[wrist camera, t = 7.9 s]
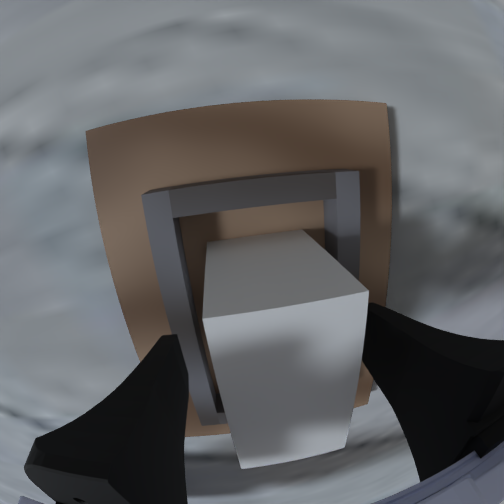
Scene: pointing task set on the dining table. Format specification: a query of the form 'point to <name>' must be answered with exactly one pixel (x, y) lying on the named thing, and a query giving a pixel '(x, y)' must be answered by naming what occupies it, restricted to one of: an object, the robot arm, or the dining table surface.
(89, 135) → the cradle
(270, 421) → the key block
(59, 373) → the dining table surface
